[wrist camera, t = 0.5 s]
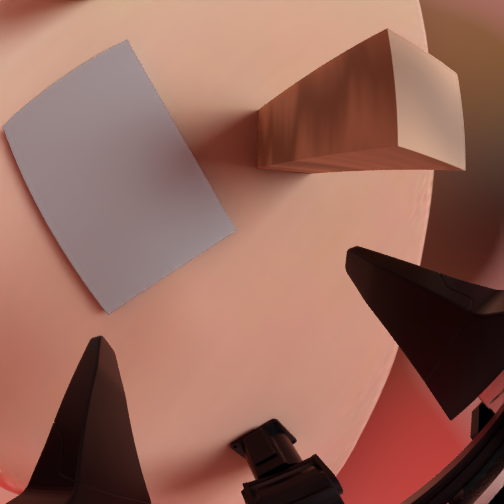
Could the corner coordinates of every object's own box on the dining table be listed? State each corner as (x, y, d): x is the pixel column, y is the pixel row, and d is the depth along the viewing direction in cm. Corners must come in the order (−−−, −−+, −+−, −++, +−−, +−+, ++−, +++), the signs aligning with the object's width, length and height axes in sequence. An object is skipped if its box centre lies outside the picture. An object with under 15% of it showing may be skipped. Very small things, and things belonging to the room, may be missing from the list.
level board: (232, 228, 23) (236, 230, 21) (110, 309, 21) (108, 315, 20) (128, 46, 17) (127, 39, 15) (8, 128, 15) (2, 126, 14)
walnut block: (311, 173, 24) (465, 170, 10) (256, 168, 22) (398, 146, 8) (312, 118, 23) (456, 74, 9) (258, 109, 21) (387, 28, 7)
